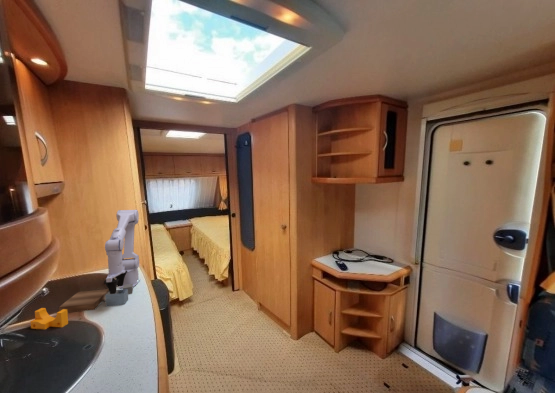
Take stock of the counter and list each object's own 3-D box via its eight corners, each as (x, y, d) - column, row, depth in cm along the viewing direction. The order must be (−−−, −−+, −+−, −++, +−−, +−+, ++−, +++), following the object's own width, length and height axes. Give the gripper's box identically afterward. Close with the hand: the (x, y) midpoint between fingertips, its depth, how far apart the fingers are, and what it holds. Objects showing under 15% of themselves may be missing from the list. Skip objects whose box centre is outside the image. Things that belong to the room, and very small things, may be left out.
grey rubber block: (124, 292, 122) (123, 285, 122) (132, 290, 124) (132, 283, 124) (123, 295, 119) (122, 288, 118) (132, 293, 120) (131, 286, 120)
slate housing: (107, 302, 112) (107, 290, 112) (128, 300, 114) (127, 288, 114) (103, 307, 108) (102, 295, 107) (124, 304, 110) (124, 293, 110)
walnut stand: (78, 297, 116) (78, 291, 116) (109, 294, 119) (108, 289, 119) (59, 313, 102) (58, 307, 102) (94, 309, 106) (94, 303, 105)
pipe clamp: (31, 328, 92) (29, 314, 92) (42, 322, 97) (41, 307, 96) (57, 330, 91) (56, 315, 91) (68, 323, 96) (67, 309, 95)
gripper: (117, 268, 103) (119, 296, 105) (130, 257, 118) (131, 282, 119) (100, 269, 102) (101, 297, 103) (115, 258, 116) (116, 283, 117)
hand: (116, 289), depth 111 cm, fingers open, 7 cm apart
